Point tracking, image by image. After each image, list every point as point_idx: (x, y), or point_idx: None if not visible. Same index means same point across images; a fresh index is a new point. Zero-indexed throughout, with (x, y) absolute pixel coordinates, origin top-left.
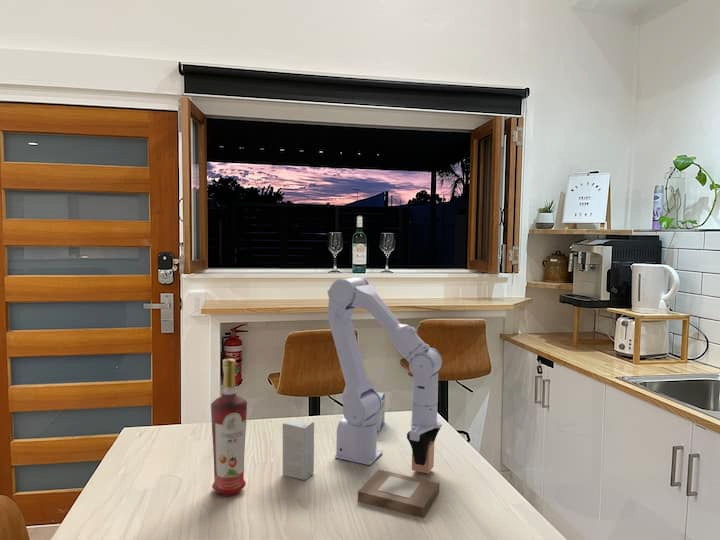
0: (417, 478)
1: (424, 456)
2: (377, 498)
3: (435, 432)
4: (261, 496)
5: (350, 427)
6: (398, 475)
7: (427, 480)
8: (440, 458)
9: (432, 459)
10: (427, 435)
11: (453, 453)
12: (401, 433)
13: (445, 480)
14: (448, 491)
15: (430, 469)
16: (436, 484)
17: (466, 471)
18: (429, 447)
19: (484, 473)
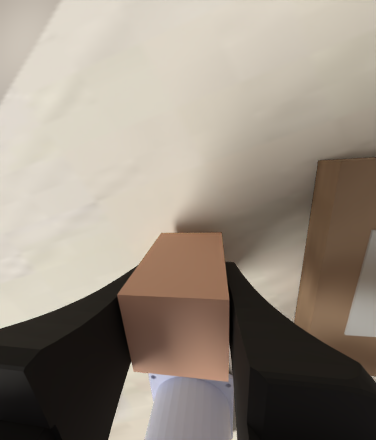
0: (326, 252)
1: (249, 285)
2: None
3: (67, 348)
4: None
5: None
6: (325, 313)
7: (331, 213)
8: (79, 232)
9: (169, 247)
10: (105, 358)
11: (23, 207)
12: None
13: (215, 169)
14: (297, 129)
15: (196, 234)
16: (360, 167)
17: (109, 122)
18: (220, 300)
19: (80, 45)
